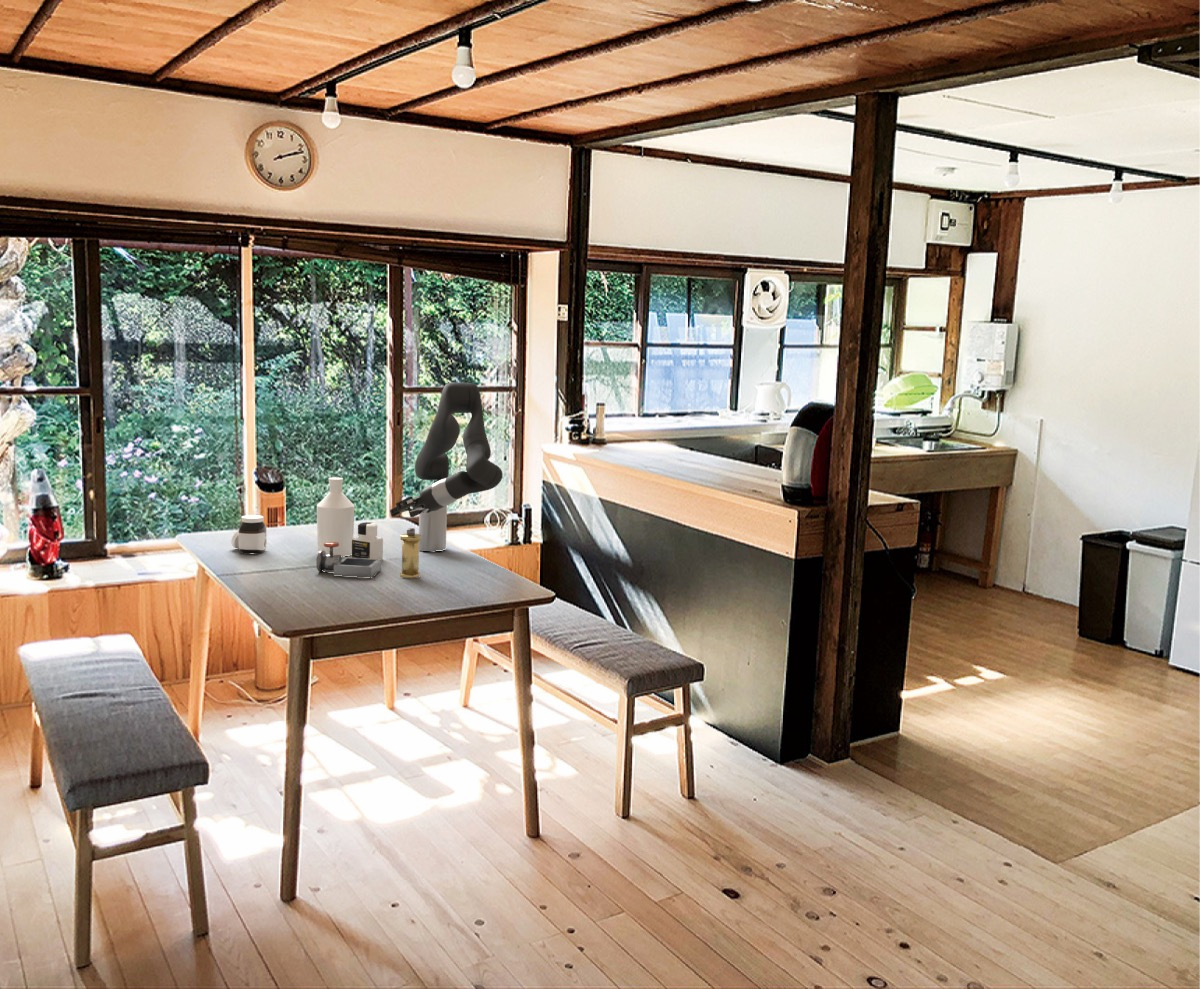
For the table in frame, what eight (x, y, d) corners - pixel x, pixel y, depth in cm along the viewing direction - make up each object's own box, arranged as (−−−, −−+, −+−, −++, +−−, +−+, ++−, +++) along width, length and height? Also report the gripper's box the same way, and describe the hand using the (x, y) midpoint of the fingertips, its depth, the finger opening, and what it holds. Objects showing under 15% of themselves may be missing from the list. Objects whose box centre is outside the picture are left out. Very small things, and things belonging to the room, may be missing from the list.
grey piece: (325, 567, 328) (325, 538, 327) (381, 570, 328) (381, 542, 326) (313, 575, 317) (313, 546, 316) (371, 578, 316) (371, 549, 315)
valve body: (400, 574, 324) (401, 526, 322) (420, 574, 325) (421, 527, 322) (399, 578, 318) (400, 530, 316) (419, 578, 319) (420, 530, 317)
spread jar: (259, 555, 340) (259, 520, 338) (224, 554, 340) (223, 518, 338) (271, 548, 352) (271, 513, 350) (237, 546, 352) (237, 512, 350)
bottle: (358, 551, 353) (359, 477, 349) (346, 558, 341) (347, 482, 337) (324, 549, 354) (324, 475, 350) (311, 556, 342) (311, 479, 338)
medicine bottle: (351, 560, 339) (351, 523, 337) (365, 556, 346) (365, 520, 344) (369, 563, 336) (369, 526, 334) (383, 559, 343) (383, 522, 341)
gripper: (453, 483, 316) (413, 503, 323) (422, 480, 304) (381, 501, 311) (459, 506, 314) (419, 526, 322) (429, 505, 302) (388, 525, 309)
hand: (400, 513), depth 316 cm, fingers open, 8 cm apart
